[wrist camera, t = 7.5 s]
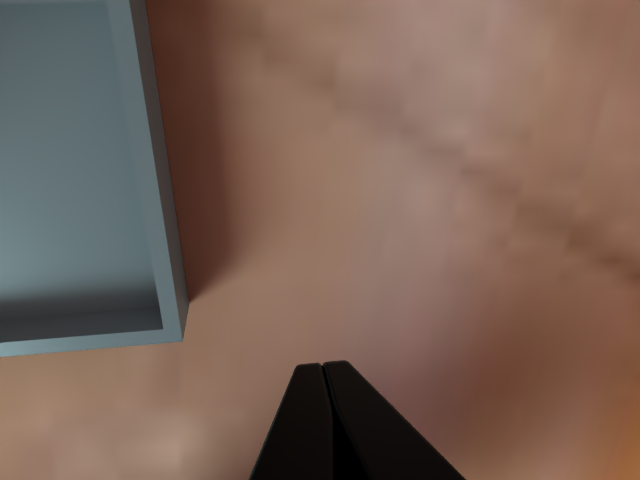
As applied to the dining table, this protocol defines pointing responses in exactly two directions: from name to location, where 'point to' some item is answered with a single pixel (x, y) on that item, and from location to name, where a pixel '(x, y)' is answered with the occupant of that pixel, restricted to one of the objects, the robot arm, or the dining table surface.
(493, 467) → the dining table surface
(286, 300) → the dining table surface
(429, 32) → the dining table surface
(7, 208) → the tray
